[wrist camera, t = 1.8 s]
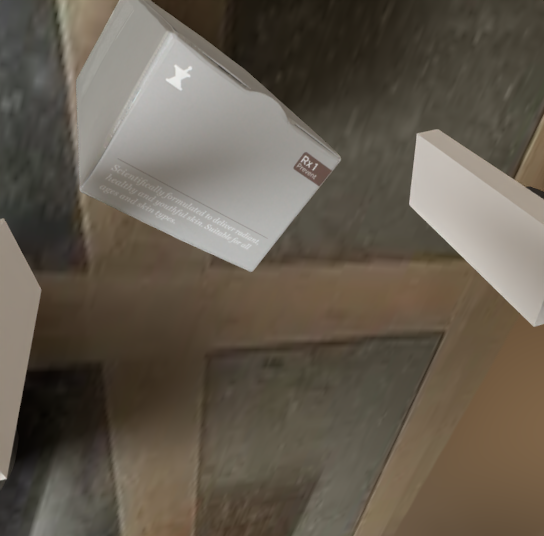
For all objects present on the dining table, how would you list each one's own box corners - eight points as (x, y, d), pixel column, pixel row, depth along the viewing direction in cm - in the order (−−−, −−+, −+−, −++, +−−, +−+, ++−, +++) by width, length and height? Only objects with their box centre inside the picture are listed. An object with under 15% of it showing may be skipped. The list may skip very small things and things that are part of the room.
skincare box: (74, 79, 28) (50, 204, 16) (135, -32, 26) (162, 14, 13) (193, 152, 33) (244, 291, 20) (253, 63, 30) (353, 162, 18)
